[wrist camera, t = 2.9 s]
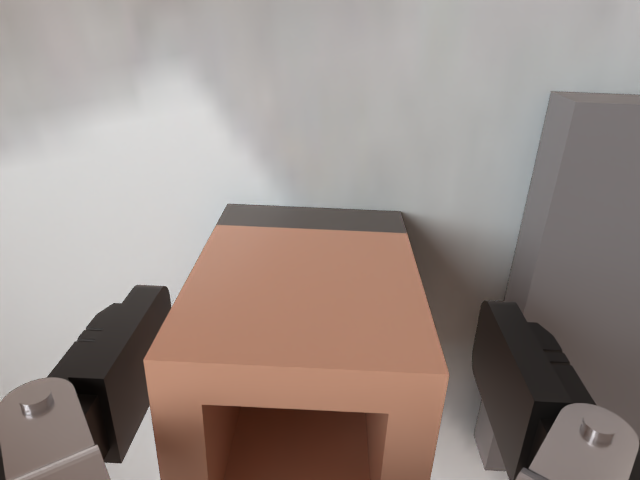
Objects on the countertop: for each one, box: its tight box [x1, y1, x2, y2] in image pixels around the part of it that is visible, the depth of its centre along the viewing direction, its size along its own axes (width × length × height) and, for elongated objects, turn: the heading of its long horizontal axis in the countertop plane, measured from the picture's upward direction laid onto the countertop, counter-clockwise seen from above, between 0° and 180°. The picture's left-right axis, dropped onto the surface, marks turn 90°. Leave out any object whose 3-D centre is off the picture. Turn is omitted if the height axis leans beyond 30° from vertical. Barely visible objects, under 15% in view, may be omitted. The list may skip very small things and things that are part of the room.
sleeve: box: [143, 204, 449, 480], centre depth 12 cm, size 5×5×7 cm
